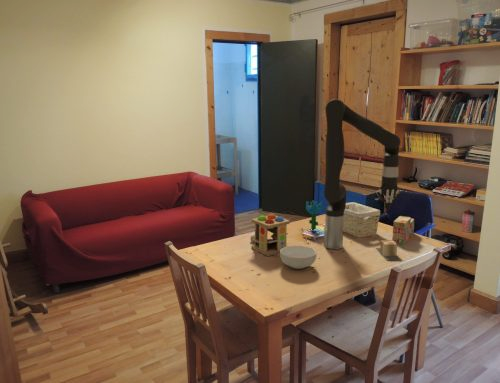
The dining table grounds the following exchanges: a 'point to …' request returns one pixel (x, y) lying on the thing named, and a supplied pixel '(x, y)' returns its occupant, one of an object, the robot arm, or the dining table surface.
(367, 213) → the storage basket
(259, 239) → the pounding bench toy
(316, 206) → the toy flower
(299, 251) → the cereal bowl
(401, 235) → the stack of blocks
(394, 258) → the mat
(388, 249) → the cube
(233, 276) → the dining table surface
